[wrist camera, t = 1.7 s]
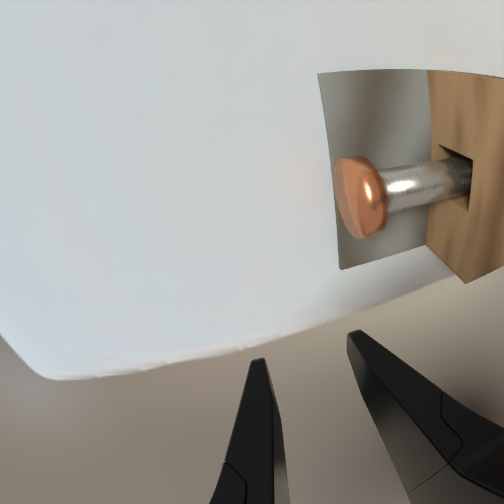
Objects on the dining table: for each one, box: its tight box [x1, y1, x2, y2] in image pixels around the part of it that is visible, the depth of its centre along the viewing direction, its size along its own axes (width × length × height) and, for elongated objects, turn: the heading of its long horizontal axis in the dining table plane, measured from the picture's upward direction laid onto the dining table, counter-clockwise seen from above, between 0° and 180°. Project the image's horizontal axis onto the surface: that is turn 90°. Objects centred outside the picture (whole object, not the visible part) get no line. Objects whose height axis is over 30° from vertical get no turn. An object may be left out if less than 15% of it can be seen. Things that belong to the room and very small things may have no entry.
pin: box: [334, 156, 473, 239], centre depth 16 cm, size 10×5×5 cm, turn 102°
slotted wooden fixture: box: [317, 69, 504, 284], centre depth 16 cm, size 18×14×6 cm
